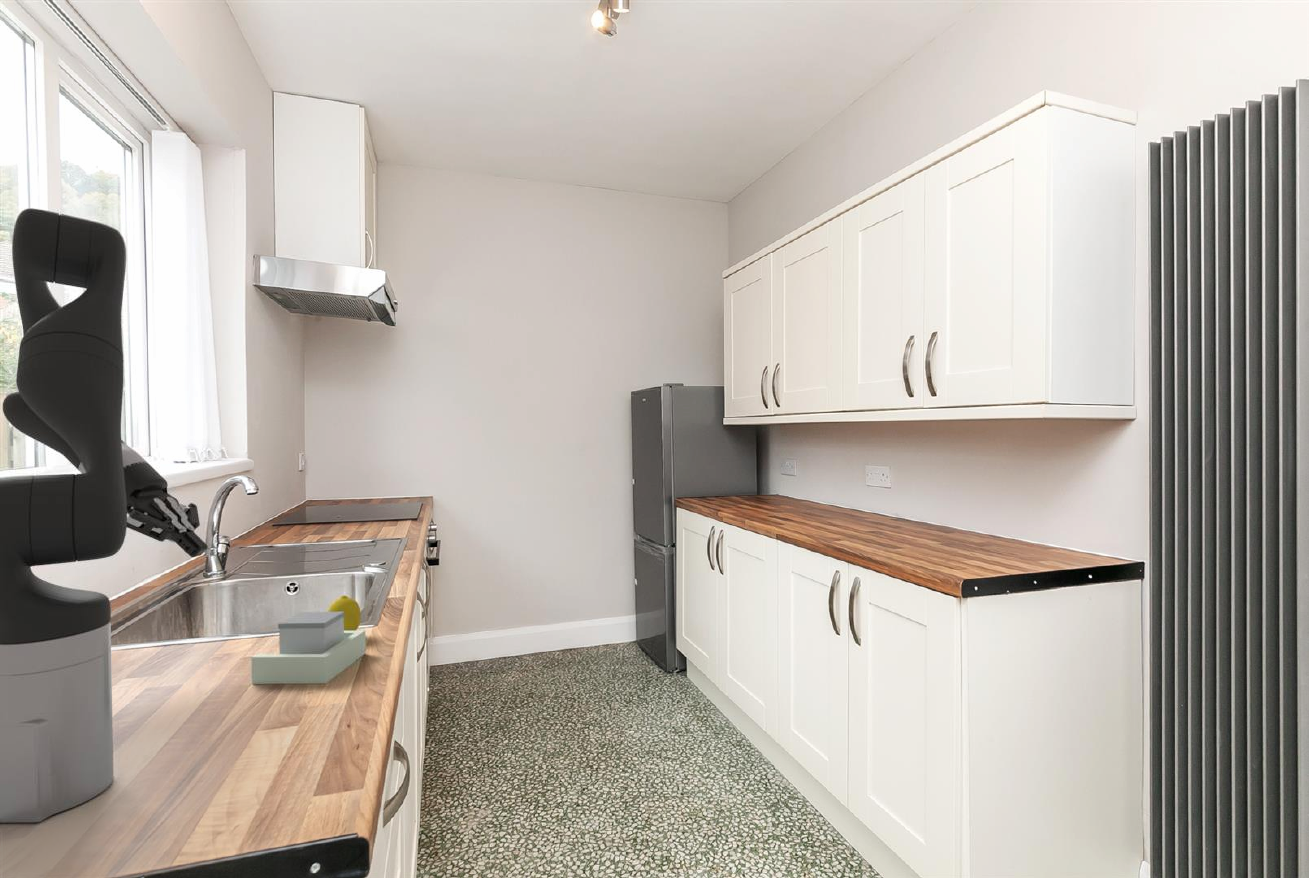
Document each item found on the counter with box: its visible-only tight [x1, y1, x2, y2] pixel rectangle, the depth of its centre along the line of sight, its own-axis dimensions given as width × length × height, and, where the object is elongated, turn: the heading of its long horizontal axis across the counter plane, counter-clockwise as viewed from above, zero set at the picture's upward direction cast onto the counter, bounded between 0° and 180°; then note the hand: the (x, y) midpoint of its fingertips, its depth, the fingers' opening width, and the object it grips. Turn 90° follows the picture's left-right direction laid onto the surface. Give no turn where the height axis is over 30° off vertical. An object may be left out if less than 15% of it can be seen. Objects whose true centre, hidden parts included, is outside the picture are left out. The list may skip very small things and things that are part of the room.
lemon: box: [327, 595, 362, 631], centre depth 113 cm, size 6×6×8 cm
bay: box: [251, 630, 366, 685], centre depth 99 cm, size 12×11×4 cm
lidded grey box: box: [277, 611, 344, 654], centre depth 99 cm, size 6×7×8 cm
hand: (200, 552), depth 99 cm, fingers closed
